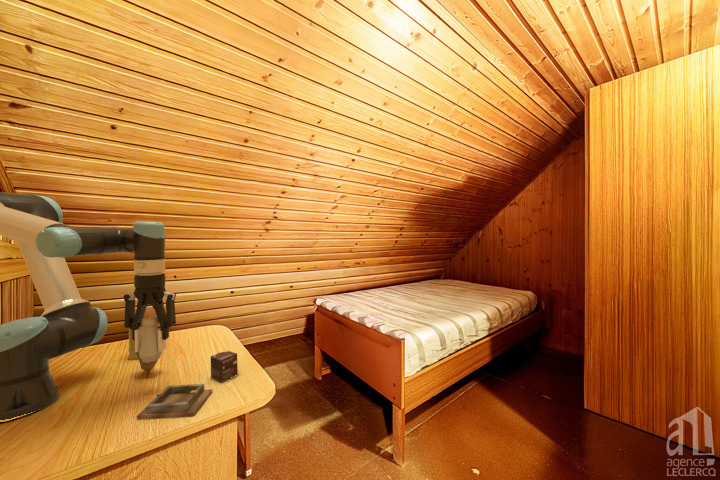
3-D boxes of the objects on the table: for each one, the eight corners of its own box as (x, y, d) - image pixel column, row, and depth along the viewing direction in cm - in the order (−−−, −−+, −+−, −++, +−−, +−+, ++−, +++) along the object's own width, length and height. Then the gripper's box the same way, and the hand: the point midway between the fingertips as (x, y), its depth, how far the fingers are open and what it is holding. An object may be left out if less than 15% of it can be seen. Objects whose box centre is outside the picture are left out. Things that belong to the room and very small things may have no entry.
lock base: (137, 419, 74) (136, 405, 74) (162, 395, 85) (162, 383, 85) (194, 416, 75) (193, 402, 75) (212, 392, 86) (211, 380, 86)
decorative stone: (130, 375, 97) (129, 331, 96) (150, 367, 102) (148, 325, 102) (147, 381, 93) (146, 335, 92) (167, 373, 98) (166, 329, 98)
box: (221, 383, 91) (220, 360, 91) (210, 378, 95) (209, 356, 94) (238, 375, 97) (237, 353, 96) (227, 370, 100) (226, 349, 99)
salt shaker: (150, 365, 83) (149, 320, 83) (133, 362, 85) (133, 319, 84) (167, 356, 89) (167, 314, 89) (151, 354, 90) (151, 313, 90)
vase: (151, 355, 112) (150, 319, 112) (132, 361, 107) (131, 323, 107) (144, 351, 115) (143, 316, 115) (125, 357, 110) (124, 320, 110)
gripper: (106, 275, 81) (107, 356, 82) (176, 275, 83) (176, 354, 84) (125, 271, 89) (126, 345, 90) (189, 271, 90) (189, 344, 91)
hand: (150, 349), depth 87 cm, fingers closed on salt shaker, 6 cm apart
